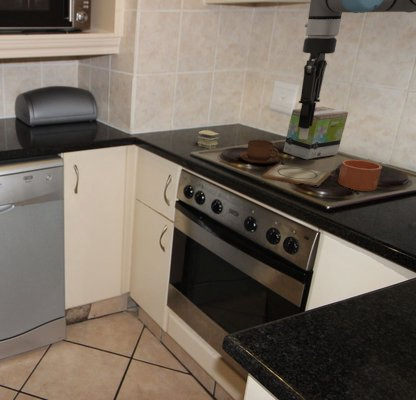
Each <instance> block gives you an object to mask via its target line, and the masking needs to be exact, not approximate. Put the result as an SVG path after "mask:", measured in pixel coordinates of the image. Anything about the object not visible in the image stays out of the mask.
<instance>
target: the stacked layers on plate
mask: <svg viewBox="0 0 416 400" xmlns="http://www.w3.org/2000/svg"><path fill="white" fill-rule="evenodd" d="M198 134H199V135H198V136H197V137H198V141H197V146H198V147H201V148H206V149H209V150H212V149H217V145H218V144H219V143H218V140H219V139H220V137H218V136H216V135H219V133H218V132H216V131H213V130H207V129H206V130H205V129H204V130H200V131H198Z"/></svg>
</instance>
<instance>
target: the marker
mask: <svg viewBox="0 0 416 400" xmlns="http://www.w3.org/2000/svg"><path fill="white" fill-rule="evenodd" d="M315 93H316V92H315ZM315 93H314V98H315ZM314 98H313V103H312V104H314ZM308 131H309V128H303V127H300V132H299V139H307V137H308Z"/></svg>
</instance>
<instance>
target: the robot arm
mask: <svg viewBox="0 0 416 400" xmlns="http://www.w3.org/2000/svg"><path fill="white" fill-rule="evenodd" d="M343 13H349V14H351V13H353V14H363V13H365V14H366V13H416V0H310V4H309V10H308V16H307V17H308V18H307V19H308V20H307V23H305V24H304V28H306V30H305V36H306V37H305V38H304V41H303V45H302V46H303V47H302V52H303V53H304V54H309V59H308V60H306V64H305V65H304V66H303V78H302V79H303V80H302V84H301V93H300V99H299V101H298V104H301V106H300V109H301V112H300V118H299V123H298V127H303V128H309V126H312V123H313V117H314V112H315V107H317V106H316V105H317V103H320V102H321V99H320V94H321V90H322V85H323V80H324V77H325V71H326V68H327V65H328V62H327V59H326V54H327V55H329V54H334V53H335V52H336V46H337V43H338V42H337V41H338V40H337V38H336V37H338V36H339V33H340V27H341V20H342V14H343ZM315 92H316V93H315ZM314 93H315V98H314ZM313 98H314V104H312V103H313Z"/></svg>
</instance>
